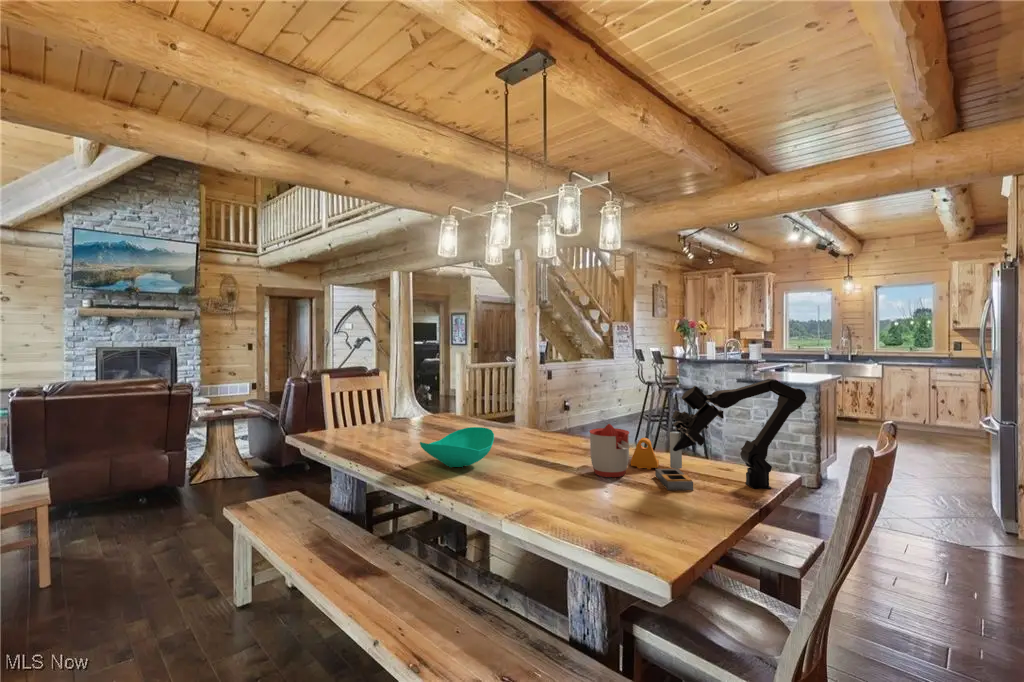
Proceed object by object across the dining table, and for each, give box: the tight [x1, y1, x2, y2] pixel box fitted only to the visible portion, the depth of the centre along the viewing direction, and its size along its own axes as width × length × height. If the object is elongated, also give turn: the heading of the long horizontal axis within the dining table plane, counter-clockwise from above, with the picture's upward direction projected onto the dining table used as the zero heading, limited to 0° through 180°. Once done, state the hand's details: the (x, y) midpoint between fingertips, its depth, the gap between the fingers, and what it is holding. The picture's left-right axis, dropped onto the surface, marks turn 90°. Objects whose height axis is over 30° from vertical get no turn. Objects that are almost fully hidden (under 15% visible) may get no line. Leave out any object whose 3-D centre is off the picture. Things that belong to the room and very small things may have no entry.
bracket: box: [630, 437, 660, 470], centre depth 198 cm, size 11×7×12 cm, turn 68°
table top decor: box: [419, 426, 495, 468], centre depth 203 cm, size 40×28×13 cm
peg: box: [669, 431, 683, 470], centre depth 171 cm, size 4×4×12 cm
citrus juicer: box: [588, 423, 630, 478], centre depth 187 cm, size 16×17×20 cm
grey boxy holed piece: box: [654, 468, 694, 491], centre depth 175 cm, size 9×17×3 cm, turn 177°
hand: (671, 449), depth 171 cm, fingers closed on peg, 4 cm apart
